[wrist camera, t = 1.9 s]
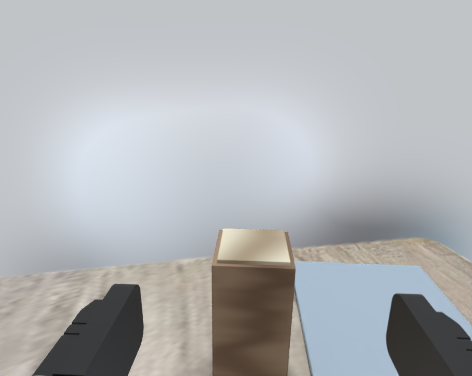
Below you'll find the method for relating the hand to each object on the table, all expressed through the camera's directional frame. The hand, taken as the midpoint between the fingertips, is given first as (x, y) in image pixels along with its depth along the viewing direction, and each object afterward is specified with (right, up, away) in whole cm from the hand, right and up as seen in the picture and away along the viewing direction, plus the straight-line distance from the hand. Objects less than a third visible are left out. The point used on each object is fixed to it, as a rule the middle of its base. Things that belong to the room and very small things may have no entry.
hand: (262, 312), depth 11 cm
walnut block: (0, -11, +16) cm, 19 cm away
